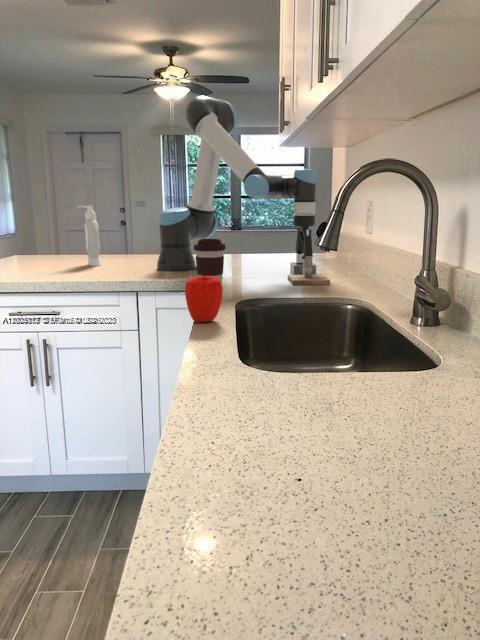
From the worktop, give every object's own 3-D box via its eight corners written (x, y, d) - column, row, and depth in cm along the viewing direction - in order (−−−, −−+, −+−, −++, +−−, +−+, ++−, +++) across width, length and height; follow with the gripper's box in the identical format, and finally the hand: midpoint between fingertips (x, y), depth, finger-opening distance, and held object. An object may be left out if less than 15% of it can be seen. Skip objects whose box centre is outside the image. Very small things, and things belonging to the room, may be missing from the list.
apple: (214, 327, 113) (213, 279, 110) (179, 324, 116) (177, 277, 113) (228, 318, 121) (228, 273, 118) (195, 315, 124) (194, 271, 121)
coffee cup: (221, 290, 155) (221, 241, 152) (191, 289, 157) (189, 240, 154) (229, 284, 165) (228, 238, 161) (199, 283, 167) (198, 238, 163)
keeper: (287, 279, 174) (287, 254, 172) (321, 278, 175) (322, 254, 173) (293, 285, 163) (293, 259, 161) (329, 284, 163) (330, 258, 161)
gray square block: (290, 273, 187) (290, 262, 186) (311, 272, 187) (311, 262, 186) (293, 276, 179) (294, 265, 178) (316, 276, 180) (316, 265, 179)
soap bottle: (80, 263, 217) (75, 205, 211) (99, 262, 220) (94, 205, 214) (83, 267, 206) (78, 206, 200) (102, 266, 208) (98, 205, 202)
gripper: (288, 213, 190) (287, 269, 195) (300, 216, 166) (298, 280, 171) (308, 213, 190) (306, 269, 196) (322, 216, 166) (320, 279, 171)
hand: (303, 274), depth 183 cm, fingers open, 13 cm apart
